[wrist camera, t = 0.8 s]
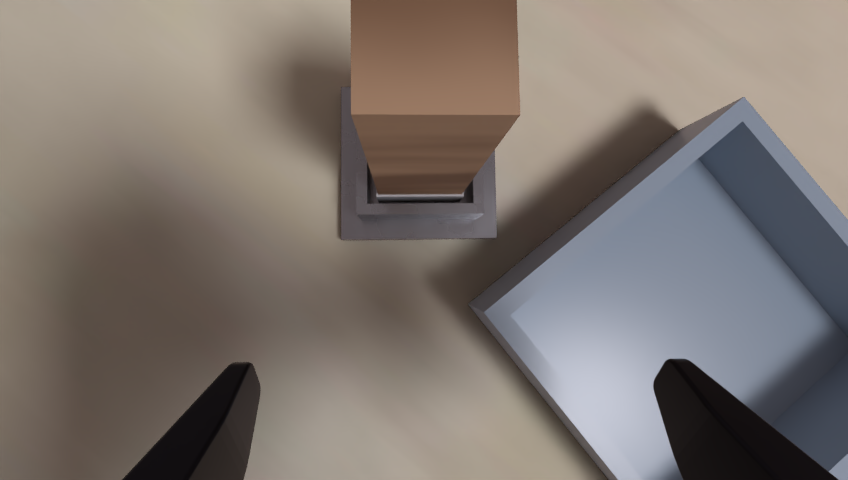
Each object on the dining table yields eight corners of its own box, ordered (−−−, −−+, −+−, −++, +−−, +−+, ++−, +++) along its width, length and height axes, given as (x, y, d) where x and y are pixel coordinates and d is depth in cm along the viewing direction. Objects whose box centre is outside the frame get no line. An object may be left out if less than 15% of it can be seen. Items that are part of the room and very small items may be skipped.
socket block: (494, 238, 23) (505, 234, 20) (342, 240, 22) (334, 236, 20) (490, 92, 23) (501, 70, 21) (343, 91, 23) (334, 68, 20)
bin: (653, 536, 22) (718, 604, 17) (467, 304, 22) (483, 312, 18) (859, 346, 23) (968, 363, 19) (679, 129, 24) (743, 96, 19)
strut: (459, 201, 22) (524, 118, 10) (378, 202, 22) (346, 118, 10) (458, 122, 22) (518, -48, 10) (377, 122, 22) (346, -52, 10)
